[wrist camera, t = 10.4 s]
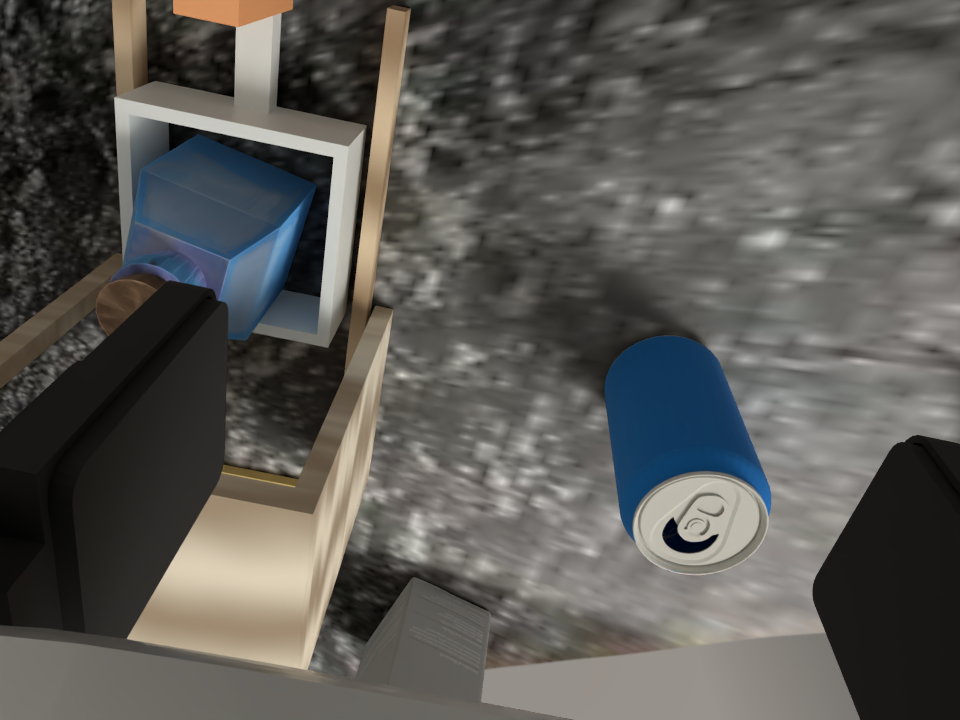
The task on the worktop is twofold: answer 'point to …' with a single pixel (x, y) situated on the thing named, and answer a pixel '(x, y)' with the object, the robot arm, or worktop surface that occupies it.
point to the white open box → (255, 116)
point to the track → (135, 74)
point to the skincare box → (429, 644)
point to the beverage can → (683, 458)
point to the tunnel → (250, 514)
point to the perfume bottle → (210, 233)
